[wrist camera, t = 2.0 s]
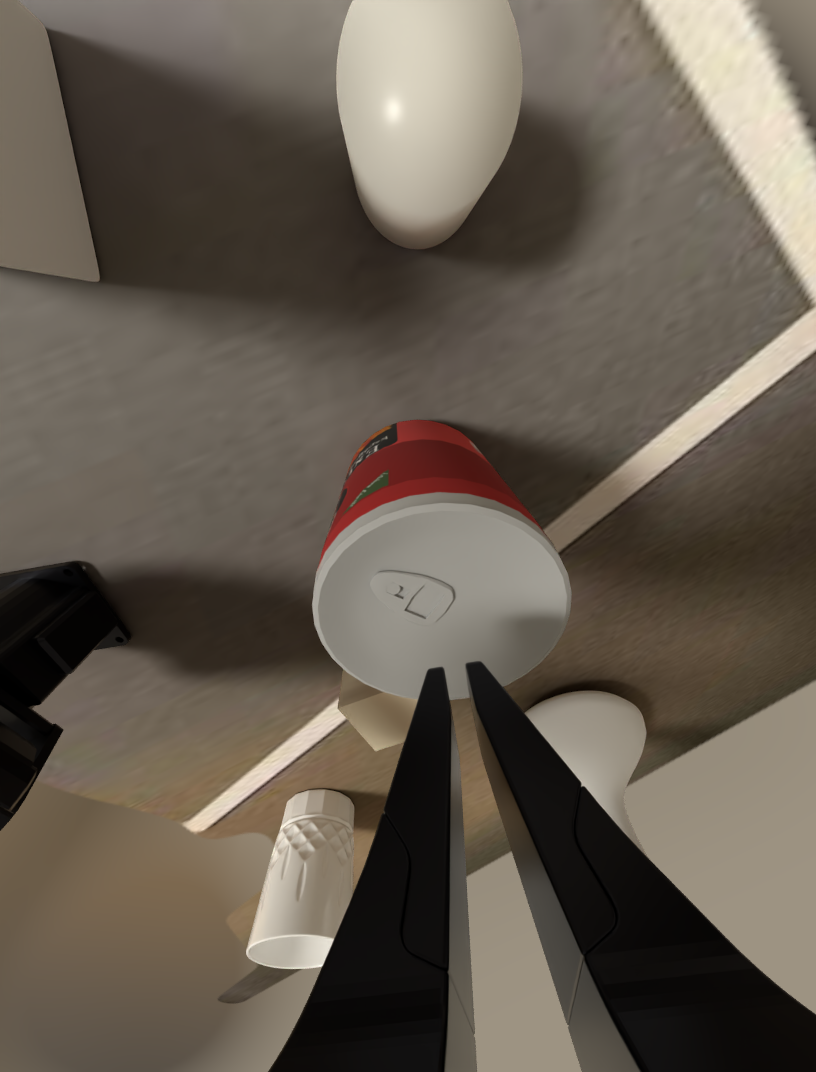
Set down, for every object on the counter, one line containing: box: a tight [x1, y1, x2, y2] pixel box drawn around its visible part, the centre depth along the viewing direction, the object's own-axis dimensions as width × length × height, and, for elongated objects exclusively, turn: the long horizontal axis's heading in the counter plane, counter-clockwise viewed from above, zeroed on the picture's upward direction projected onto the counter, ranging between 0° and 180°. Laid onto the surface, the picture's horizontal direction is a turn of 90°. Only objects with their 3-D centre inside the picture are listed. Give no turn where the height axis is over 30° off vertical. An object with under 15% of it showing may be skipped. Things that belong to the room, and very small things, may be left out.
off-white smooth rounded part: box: [336, 0, 523, 249], centre depth 12 cm, size 5×5×5 cm
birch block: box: [338, 669, 418, 751], centre depth 25 cm, size 5×5×5 cm
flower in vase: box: [525, 691, 647, 856], centre depth 20 cm, size 13×11×25 cm
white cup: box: [246, 789, 354, 969], centre depth 32 cm, size 8×8×10 cm
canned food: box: [312, 420, 572, 700], centre depth 16 cm, size 8×8×11 cm
